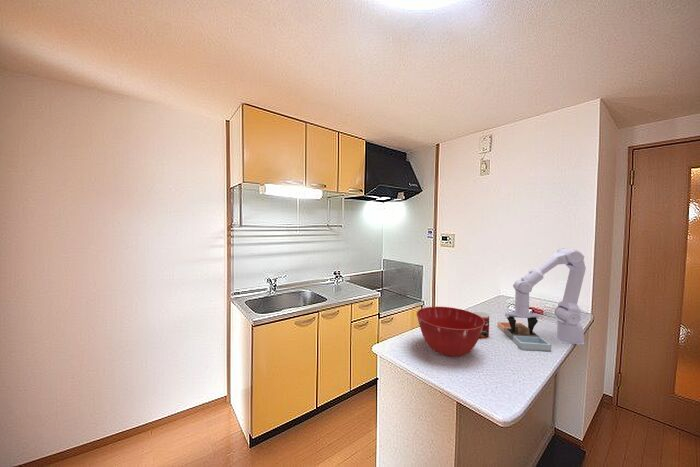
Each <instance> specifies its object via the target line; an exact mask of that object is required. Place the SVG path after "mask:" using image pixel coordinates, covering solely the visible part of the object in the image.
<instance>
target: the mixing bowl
mask: <svg viewBox="0 0 700 467" xmlns="http://www.w3.org/2000/svg"><path fill="white" fill-rule="evenodd" d="M416 317H417V320H418V324H419V327H420V328H419V329H420V331H421V334H422V336H423V339H424V340H425V342H426V343H425V344H426V345H427V346H428V347H429V348H430V349H431V350H432V351H434V353H436V354H439V355H440V356H444V357H449V358H460V357H464V356H465V355H468V354H469V353H470V352H472V351H473V349H474V348H475V346H476V345H477V343H478V341H479V337H480V334H481V332H482V329H483V326H484V324H485V321H484V319H483V318H482V317H480V316H479V315H477V314H475V313H474V312H471V311H469V310H465V309H462V308H456V307H452V306H451V307H449V306H429V307H428V306H426V307H423V308H420V309H418V310H417V311H416Z"/></svg>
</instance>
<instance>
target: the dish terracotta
mask: <svg viewBox="0 0 700 467" xmlns="http://www.w3.org/2000/svg"><path fill="white" fill-rule="evenodd" d="M515 325H524V326H526V325H525V323H523V322H516V323H515ZM497 327H498V329H500V331H501V332H502V333H504V334H505V328H508V329H511V326H510V323H509V321H507V322H506V321H497ZM526 327H527V328H528V326H526Z"/></svg>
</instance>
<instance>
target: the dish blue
mask: <svg viewBox="0 0 700 467" xmlns="http://www.w3.org/2000/svg"><path fill="white" fill-rule="evenodd" d="M512 342H513V343H514V344H515V345H516V346H518V349H520V350H522V351H535V352H536V351H537V352H538V351H539V352H552V344H551V343H549V342H548V341H547V340H545V339H544V338H543V337H542V336H540V337H529V336H513V340H512Z"/></svg>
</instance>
